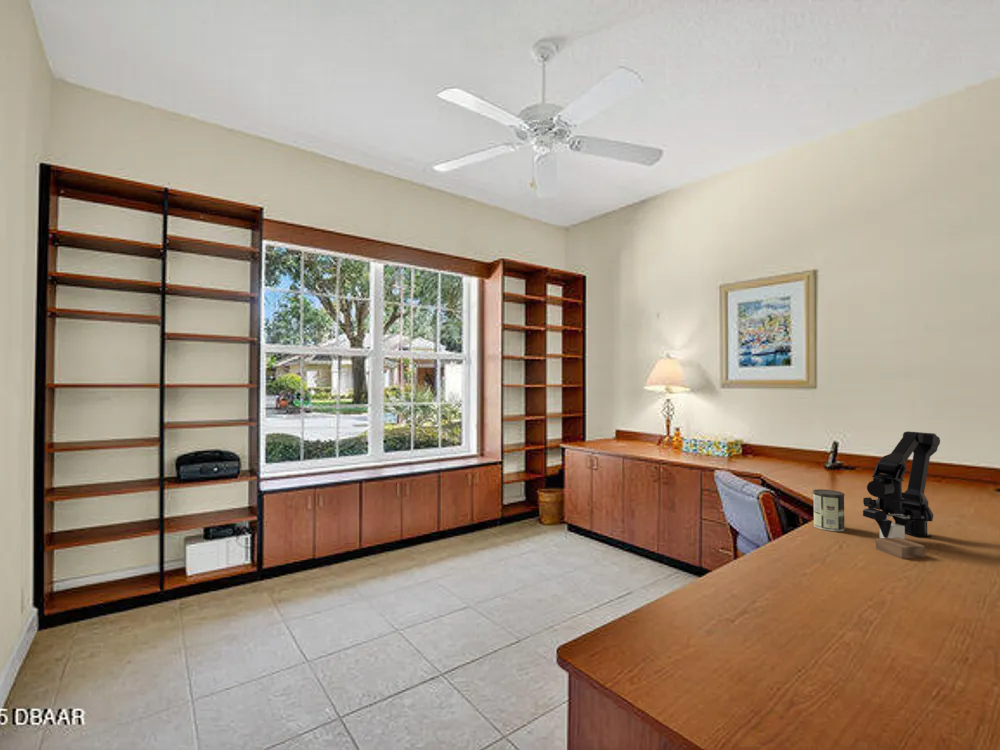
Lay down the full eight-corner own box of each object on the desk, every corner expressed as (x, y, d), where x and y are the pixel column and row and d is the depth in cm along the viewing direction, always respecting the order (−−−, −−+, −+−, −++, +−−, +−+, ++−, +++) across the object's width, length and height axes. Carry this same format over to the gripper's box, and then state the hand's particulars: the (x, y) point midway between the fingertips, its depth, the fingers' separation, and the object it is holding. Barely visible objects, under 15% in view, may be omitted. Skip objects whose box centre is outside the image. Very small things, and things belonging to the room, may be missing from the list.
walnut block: (898, 548, 164) (898, 537, 165) (925, 558, 156) (925, 546, 156) (875, 550, 163) (875, 538, 163) (901, 559, 154) (901, 547, 154)
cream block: (891, 538, 175) (891, 521, 175) (904, 542, 170) (904, 525, 170) (879, 538, 174) (879, 522, 174) (892, 543, 169) (892, 526, 169)
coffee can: (833, 523, 192) (832, 489, 193) (851, 531, 182) (851, 495, 182) (807, 523, 193) (807, 488, 193) (824, 531, 182) (823, 494, 183)
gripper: (892, 488, 182) (892, 529, 181) (849, 490, 179) (849, 531, 179) (922, 495, 171) (922, 538, 170) (877, 497, 168) (877, 541, 168)
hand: (891, 537), depth 172 cm, fingers closed on cream block, 5 cm apart
